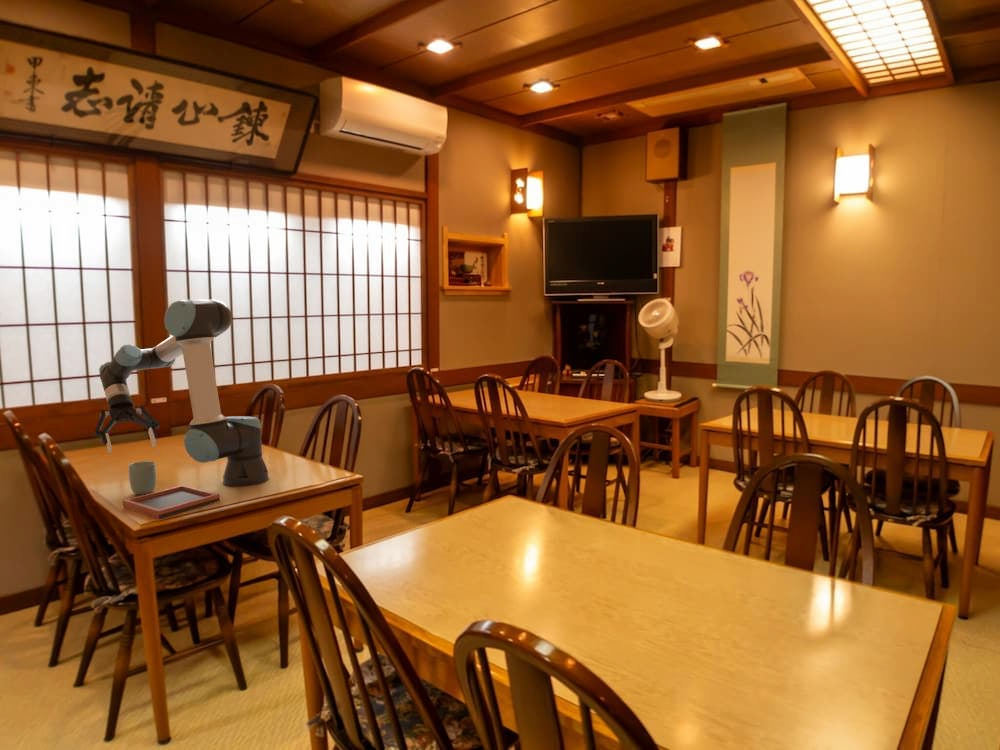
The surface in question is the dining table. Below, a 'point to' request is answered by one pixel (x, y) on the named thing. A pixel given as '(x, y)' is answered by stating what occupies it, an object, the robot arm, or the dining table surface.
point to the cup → (142, 477)
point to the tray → (171, 501)
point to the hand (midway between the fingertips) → (132, 447)
